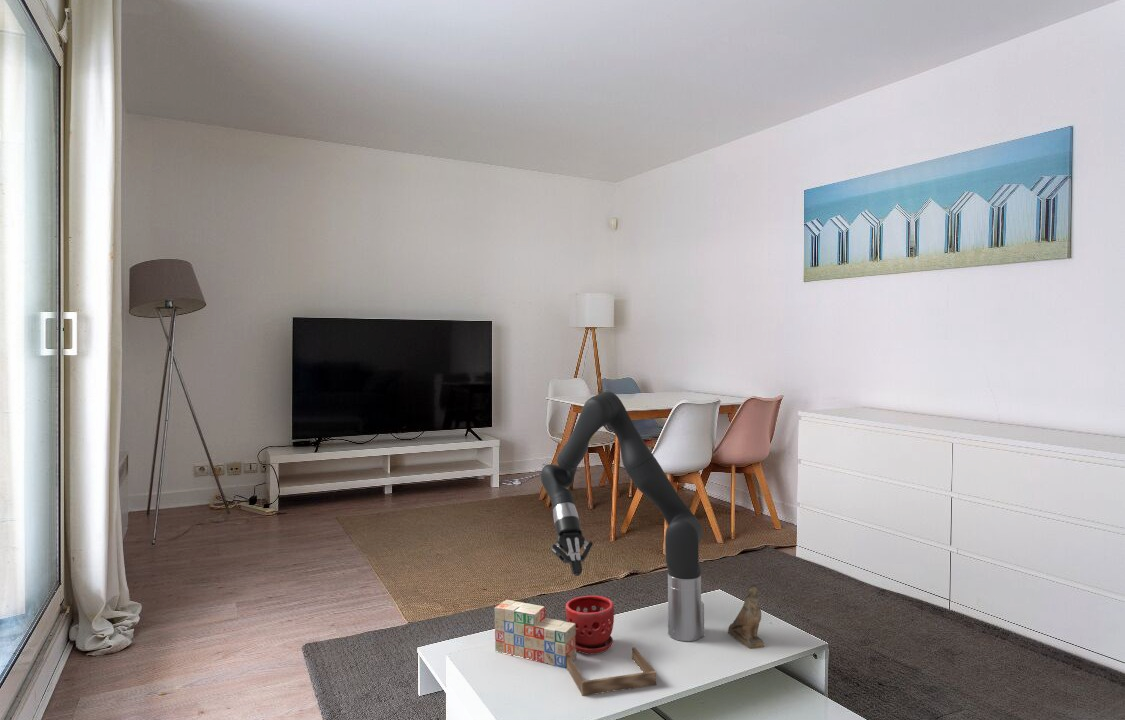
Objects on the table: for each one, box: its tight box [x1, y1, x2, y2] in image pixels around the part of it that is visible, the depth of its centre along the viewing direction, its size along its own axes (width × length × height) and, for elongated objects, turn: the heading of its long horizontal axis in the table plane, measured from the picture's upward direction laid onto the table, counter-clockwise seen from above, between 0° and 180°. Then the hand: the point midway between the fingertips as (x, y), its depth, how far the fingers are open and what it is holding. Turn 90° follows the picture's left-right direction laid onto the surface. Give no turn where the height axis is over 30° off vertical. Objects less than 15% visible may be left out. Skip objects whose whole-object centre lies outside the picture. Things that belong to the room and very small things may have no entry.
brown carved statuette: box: [727, 585, 765, 650], centre depth 182 cm, size 12×6×18 cm, turn 14°
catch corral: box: [565, 646, 657, 697], centre depth 163 cm, size 19×14×3 cm
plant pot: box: [565, 595, 615, 655], centre depth 179 cm, size 13×13×12 cm
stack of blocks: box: [494, 599, 576, 669], centre depth 175 cm, size 21×6×12 cm, turn 63°
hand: (577, 574), depth 190 cm, fingers closed
